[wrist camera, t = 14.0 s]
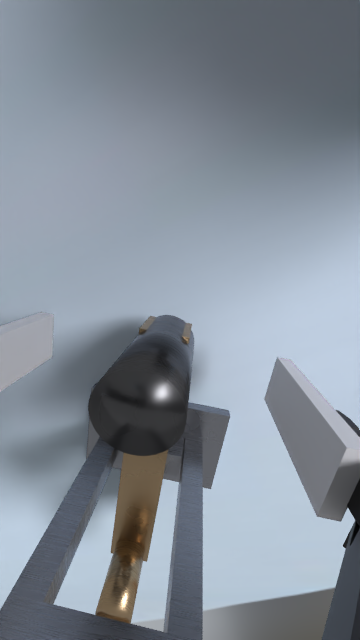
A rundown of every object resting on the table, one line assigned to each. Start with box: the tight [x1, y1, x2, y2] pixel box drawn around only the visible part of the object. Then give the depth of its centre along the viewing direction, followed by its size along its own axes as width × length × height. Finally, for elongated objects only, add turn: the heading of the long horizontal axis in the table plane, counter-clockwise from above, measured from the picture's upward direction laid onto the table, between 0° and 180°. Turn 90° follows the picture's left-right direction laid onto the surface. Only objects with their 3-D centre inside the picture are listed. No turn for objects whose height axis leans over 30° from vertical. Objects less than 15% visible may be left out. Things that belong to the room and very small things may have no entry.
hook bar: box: [88, 315, 194, 624], centre depth 15 cm, size 21×4×8 cm, turn 170°
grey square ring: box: [0, 384, 230, 640], centre depth 15 cm, size 8×12×14 cm, turn 81°
